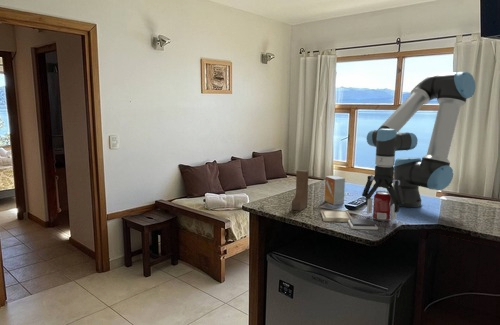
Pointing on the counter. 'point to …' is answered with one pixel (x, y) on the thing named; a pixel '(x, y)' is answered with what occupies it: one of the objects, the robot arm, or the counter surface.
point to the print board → (335, 215)
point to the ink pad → (362, 224)
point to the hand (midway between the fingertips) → (381, 216)
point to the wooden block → (301, 190)
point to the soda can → (382, 206)
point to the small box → (334, 189)
